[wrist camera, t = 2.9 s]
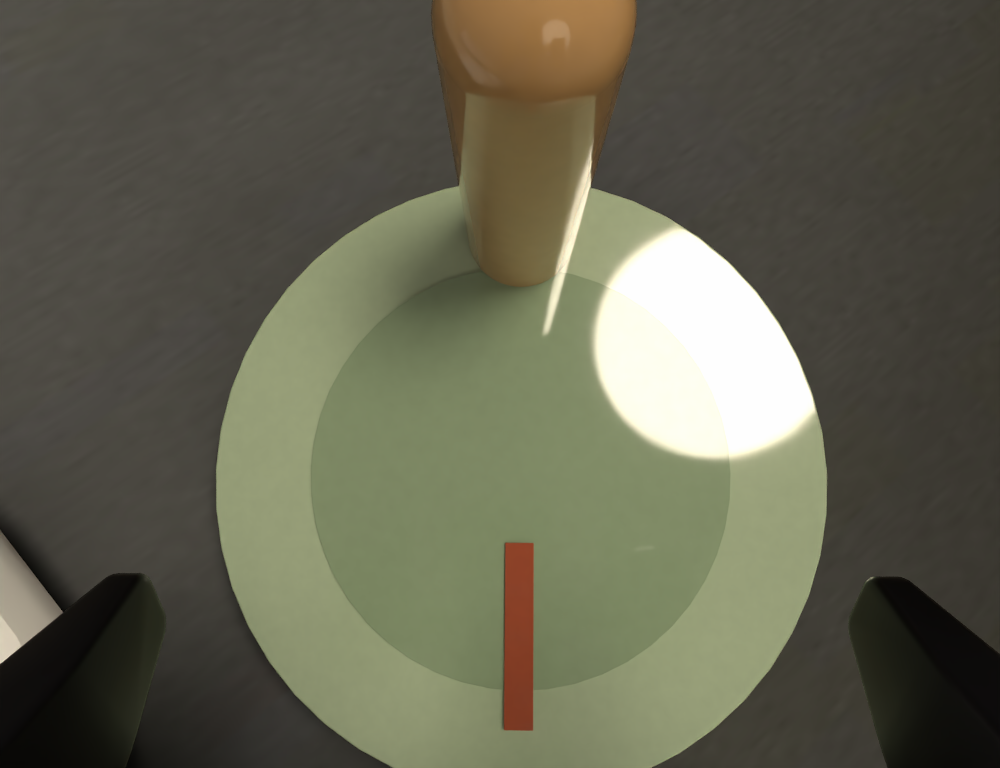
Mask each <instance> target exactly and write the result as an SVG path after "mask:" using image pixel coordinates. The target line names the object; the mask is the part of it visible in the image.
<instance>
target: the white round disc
mask: <svg viewBox="0 0 1000 768" xmlns="http://www.w3.org/2000/svg"><path fill="white" fill-rule="evenodd" d="M62 613H63V612H62V610H61V609H60V608H59V606H58V605H57V604H56V602H55V601H54V600H53V598H52V597H51V596H50V595H49V593H48V592H47V591H46V589H45V588H44V587H43V585H42V584H41V583H40V581H39V580H38V579H37V578H36V576H35V575H34V574H33V572H32V571H31V570H30V568H29V567H28V566H27V564H26V563H25V562H24V561H23V559H22V558H21V557H20V555H19V554H18V553H17V551H16V550H15V549H14V547H13V546H12V545H11V544H10V542H9V541H8V540H7V538H6V537H5V536H4V534H3V533H2V532H1V530H0V664H1V663H2V662H3V661H4V660H6V659H7V658H8V657H9V656H10V655H12V654H13V653H14V652H15V651H17V650H18V649H19V648H20V647H21V646H23V645H24V644H25V643H26V642H28V641H29V640H30V639H31V638H32V637H34V636H35V635H36V634H37V633H39V632H40V631H41V630H42V629H44V628H45V627H46V626H47V625H48V624H50V623H51V622H52V621H53V620H55V619H56V618H57V617H58V616H59V615H61V614H62Z"/></svg>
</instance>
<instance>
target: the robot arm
mask: <svg viewBox="0 0 1000 768" xmlns="http://www.w3.org/2000/svg"><path fill="white" fill-rule="evenodd" d="M165 628H166V617H165V613H164V610H163V608H162V605H161V603H160V601H159V599H158V596H157V594H156V592H155V589H154V587H153V585H152V582H151V580H150V579H149V577H147V576H146V575H145V574H141V573H117V574H112V575H110V576H108V577H106V578H105V579H104V580H102V581H101V582H100V583H99V584H97V585H96V586H95V587H94V588H93V589H91V590H90V591H89V592H88V593H86V594H85V595H84V596H83V597H82V598H80V599H79V600H78V601H77V602H75V603H74V604H73V605H72V606H70V607H69V608H68V609H67V610H66V611H64V612H63V613H62V614H61V615H59V616H58V617H57V618H56V619H55V620H53V621H52V622H51V623H50V624H48V625H47V626H46V627H45V628H44V629H42V630H41V631H40V632H39V633H37V634H36V635H35V636H34V637H32V638H31V639H30V640H29V641H28V642H26V643H25V644H24V645H23V646H21V647H20V648H19V649H18V650H17V651H15V652H14V653H13V654H12V655H10V656H9V657H8V658H7V659H6V660H4V661H3V662H2V663H1V664H0V768H126V765H127V762H128V759H129V757H130V754H131V751H132V748H133V744H134V741H135V738H136V735H137V731H138V728H139V724H140V720H141V717H142V713H143V710H144V706H145V702H146V699H147V695H148V692H149V688H150V684H151V681H152V677H153V674H154V670H155V666H156V663H157V659H158V656H159V652H160V648H161V645H162V641H163V638H164V634H165ZM849 635H850V639H851V643H852V647H853V650H854V654H855V657H856V661H857V665H858V668H859V672H860V675H861V679H862V682H863V686H864V690H865V693H866V697H867V700H868V704H869V708H870V711H871V715H872V718H873V722H874V726H875V729H876V733H877V736H878V740H879V743H880V746H881V749H882V753H883V756H884V759H885V762H886V764H887V767H888V768H1000V654H999V653H998V652H996V651H995V650H994V649H993V648H992V647H990V646H989V645H988V644H987V643H985V642H984V641H983V640H982V639H981V638H979V637H978V636H977V635H976V634H974V633H973V632H972V631H971V630H969V629H968V628H967V627H966V626H965V625H963V624H962V623H961V622H960V621H958V620H957V619H956V618H955V617H953V616H952V615H951V614H950V613H949V612H947V611H946V610H945V609H944V608H942V607H941V606H940V605H939V604H937V603H936V602H935V601H934V600H933V599H931V598H930V597H929V596H928V595H926V594H925V593H924V592H923V591H921V590H920V589H919V588H918V587H917V586H915V585H914V584H913V583H911V582H910V581H908V580H907V579H905V578H902V577H871V578H869V579H868V580H867V581H866V582H865V584H864V586H863V588H862V590H861V592H860V595H859V597H858V599H857V601H856V603H855V606H854V608H853V610H852V612H851V615H850V618H849Z"/></svg>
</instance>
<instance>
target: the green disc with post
mask: <svg viewBox="0 0 1000 768" xmlns="http://www.w3.org/2000/svg"><path fill="white" fill-rule="evenodd" d="M636 18H637V2H636V0H432V7H431V22H432V35H433V41H434V46H435V52H436V58H437V64H438V70H439V75H440V81H441V87H442V93H443V99H444V104H445V110H446V116H447V122H448V128H449V133H450V139H451V145H452V151H453V157H454V162H455V168H456V174H457V180H458V187H452V188H447V189H444V190H441V191H437V192H434V193H431V194H428V195H425V196H422V197H419V198H415V199H412V200H410V201H407V202H405V203H403V204H401V205H399V206H397V207H394V208H392V209H390V210H388V211H386V212H384V213H381V214H379V215H377V216H375V217H374V218H372V219H370V220H369V221H367V222H366V223H364V224H362V225H361V226H359V227H358V228H356V229H354V230H353V231H351V232H350V233H348V234H346V235H345V236H343V237H342V238H341V239H340V240H338V241H337V242H336V243H335V244H334V245H332V246H331V247H330V248H329V249H327V250H326V251H325V252H324V253H323V254H321V255H320V256H319V257H318V258H316V259H315V260H314V261H313V262H312V263H311V264H310V265H309V266H308V267H307V268H306V269H305V270H304V271H303V273H302V274H301V275H300V276H299V277H298V278H297V279H296V280H295V281H294V282H293V283H292V284H291V285H290V286H289V287H288V288H287V290H286V291H285V292H284V294H283V295H282V296H281V298H280V299H279V301H278V302H277V303H276V305H275V306H274V307H273V309H272V310H271V311H270V313H269V314H268V316H267V317H266V318H265V320H264V321H263V323H262V325H261V327H260V329H259V330H258V332H257V334H256V336H255V338H254V339H253V341H252V343H251V345H250V347H249V348H248V350H247V352H246V354H245V356H244V359H243V361H242V364H241V366H240V369H239V371H238V374H237V376H236V379H235V381H234V384H233V386H232V389H231V392H230V396H229V400H228V403H227V407H226V411H225V415H224V419H223V423H222V427H221V433H220V441H219V449H218V457H217V465H216V511H217V518H218V525H219V533H220V540H221V548H222V552H223V556H224V559H225V563H226V567H227V570H228V574H229V578H230V581H231V585H232V589H233V591H234V593H235V596H236V598H237V601H238V603H239V605H240V608H241V610H242V612H243V615H244V617H245V620H246V622H247V624H248V627H249V628H250V630H251V632H252V633H253V635H254V637H255V639H256V640H257V642H258V644H259V645H260V647H261V649H262V651H263V652H264V654H265V656H266V657H267V659H268V661H269V662H270V664H271V665H272V666H273V667H274V669H275V670H276V671H277V673H278V674H279V675H280V676H281V678H282V679H283V680H284V682H285V683H286V684H287V685H288V687H289V688H290V689H291V691H292V692H293V693H294V694H295V695H296V696H297V697H298V698H299V699H300V700H301V701H302V702H303V703H304V704H305V705H306V706H307V707H308V708H309V709H310V710H311V711H312V712H313V713H314V714H315V715H316V716H317V717H318V718H319V719H320V720H321V721H322V722H323V723H324V724H326V725H327V726H328V727H330V728H331V729H332V730H334V731H335V732H336V733H338V734H339V735H340V736H342V737H343V738H344V739H346V740H347V741H348V742H350V743H351V744H353V745H354V746H355V747H357V748H358V749H360V750H361V751H363V752H365V753H367V754H369V755H371V756H372V757H374V758H376V759H378V760H380V761H382V762H383V763H385V764H387V765H389V766H391V767H392V768H652V767H654V766H656V765H658V764H659V763H661V762H663V761H665V760H667V759H669V758H671V757H673V756H675V755H677V754H679V753H680V752H682V751H683V750H685V749H686V748H688V747H689V746H690V745H692V744H693V743H695V742H696V741H698V740H699V739H700V738H702V737H703V736H705V735H706V734H708V733H709V732H710V731H712V730H713V729H714V728H715V727H717V726H718V725H719V724H720V723H721V722H722V721H723V720H724V719H725V718H726V717H727V716H728V715H729V714H731V713H732V712H733V711H734V710H735V709H736V708H737V707H738V706H739V705H740V704H741V703H742V702H743V701H744V700H745V699H746V698H747V697H748V695H749V694H750V693H751V692H752V691H753V689H754V688H755V687H756V686H757V684H758V683H759V682H760V681H761V680H762V678H763V677H764V676H765V675H766V673H767V672H768V671H769V670H770V669H771V667H772V665H773V664H774V662H775V660H776V659H777V657H778V655H779V654H780V652H781V651H782V649H783V647H784V646H785V644H786V642H787V641H788V639H789V637H790V636H791V634H792V632H793V630H794V628H795V626H796V623H797V621H798V619H799V616H800V614H801V612H802V610H803V607H804V605H805V603H806V601H807V598H808V596H809V593H810V590H811V586H812V583H813V579H814V576H815V572H816V569H817V565H818V562H819V558H820V554H821V548H822V541H823V534H824V527H825V521H826V508H827V469H826V461H825V452H824V443H823V435H822V430H821V426H820V422H819V418H818V414H817V410H816V406H815V402H814V398H813V394H812V392H811V389H810V387H809V384H808V381H807V379H806V376H805V374H804V371H803V369H802V366H801V364H800V361H799V358H798V356H797V355H796V353H795V351H794V349H793V347H792V345H791V344H790V342H789V340H788V338H787V336H786V334H785V333H784V331H783V329H782V327H781V325H780V323H779V322H778V321H777V319H776V318H775V316H774V315H773V314H772V312H771V311H770V309H769V308H768V307H767V305H766V304H765V303H764V301H763V300H762V298H761V297H760V296H759V294H758V293H757V292H756V290H755V289H754V288H753V287H752V286H751V285H750V284H749V283H748V282H747V281H746V280H745V279H744V278H743V277H742V275H741V274H740V273H739V272H738V271H737V270H736V269H735V268H734V267H733V266H732V265H731V264H730V263H729V262H728V261H727V260H726V259H724V258H723V257H722V256H721V255H720V254H718V253H717V252H716V251H715V250H714V249H712V248H711V247H710V246H709V245H708V244H706V243H705V242H704V241H703V240H702V239H700V238H699V237H697V236H696V235H694V234H693V233H691V232H689V231H688V230H686V229H685V228H683V227H682V226H680V225H678V224H677V223H675V222H674V221H672V220H671V219H669V218H667V217H665V216H663V215H661V214H659V213H657V212H655V211H653V210H651V209H648V208H646V207H644V206H642V205H640V204H638V203H636V202H634V201H631V200H628V199H625V198H622V197H619V196H616V195H613V194H610V193H607V192H604V191H600V190H597V189H593V188H591V185H592V182H593V178H594V175H595V172H596V168H597V165H598V161H599V158H600V154H601V151H602V147H603V144H604V141H605V137H606V134H607V130H608V127H609V123H610V120H611V116H612V113H613V110H614V106H615V103H616V99H617V96H618V92H619V89H620V85H621V82H622V79H623V75H624V72H625V68H626V65H627V61H628V58H629V55H630V51H631V47H632V44H633V39H634V34H635V28H636Z"/></svg>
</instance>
